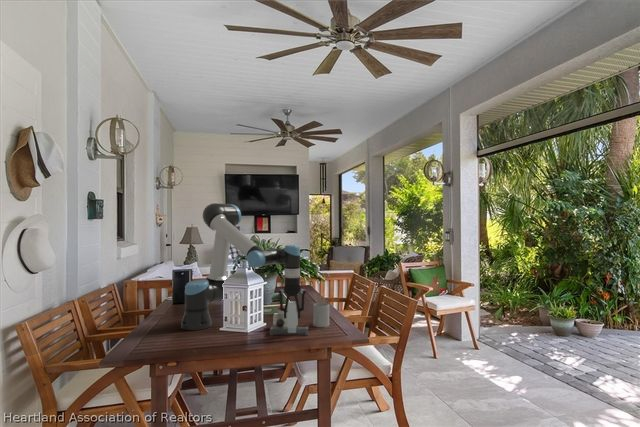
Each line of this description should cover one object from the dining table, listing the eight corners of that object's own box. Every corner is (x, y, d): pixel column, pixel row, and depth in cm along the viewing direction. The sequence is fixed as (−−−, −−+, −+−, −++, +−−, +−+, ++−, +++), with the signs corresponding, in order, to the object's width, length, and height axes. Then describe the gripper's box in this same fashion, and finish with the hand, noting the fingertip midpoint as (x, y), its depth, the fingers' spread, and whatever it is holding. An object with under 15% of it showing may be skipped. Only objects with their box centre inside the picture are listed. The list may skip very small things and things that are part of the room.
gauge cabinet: (273, 330, 192) (273, 316, 192) (274, 326, 198) (274, 313, 198) (287, 330, 192) (287, 316, 192) (287, 326, 198) (287, 313, 199)
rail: (270, 335, 184) (270, 329, 184) (270, 332, 188) (270, 326, 188) (308, 335, 184) (308, 329, 184) (308, 332, 188) (308, 326, 189)
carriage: (287, 332, 184) (287, 303, 184) (288, 330, 188) (288, 301, 188) (296, 332, 184) (296, 303, 184) (296, 330, 188) (296, 301, 189)
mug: (330, 327, 198) (330, 306, 198) (313, 327, 197) (313, 306, 197) (327, 321, 210) (328, 301, 210) (312, 321, 209) (312, 301, 209)
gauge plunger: (276, 320, 193) (276, 307, 194) (277, 318, 197) (277, 305, 197) (284, 320, 194) (284, 307, 194) (284, 318, 197) (284, 305, 197)
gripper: (274, 278, 182) (273, 327, 182) (309, 278, 183) (309, 327, 183) (275, 275, 190) (275, 322, 190) (309, 275, 190) (309, 322, 190)
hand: (292, 324), depth 186 cm, fingers closed on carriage, 4 cm apart
